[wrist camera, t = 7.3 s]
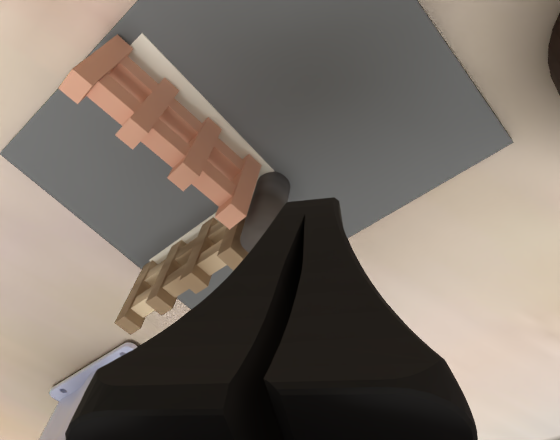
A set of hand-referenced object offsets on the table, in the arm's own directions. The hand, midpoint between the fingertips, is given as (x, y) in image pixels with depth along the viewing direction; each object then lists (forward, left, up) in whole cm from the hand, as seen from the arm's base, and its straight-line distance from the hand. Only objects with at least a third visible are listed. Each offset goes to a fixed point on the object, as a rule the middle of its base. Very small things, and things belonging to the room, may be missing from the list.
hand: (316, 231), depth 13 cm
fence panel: (-5, +3, -9) cm, 11 cm away
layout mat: (-5, +1, -10) cm, 11 cm away
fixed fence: (-9, -2, -10) cm, 14 cm away
